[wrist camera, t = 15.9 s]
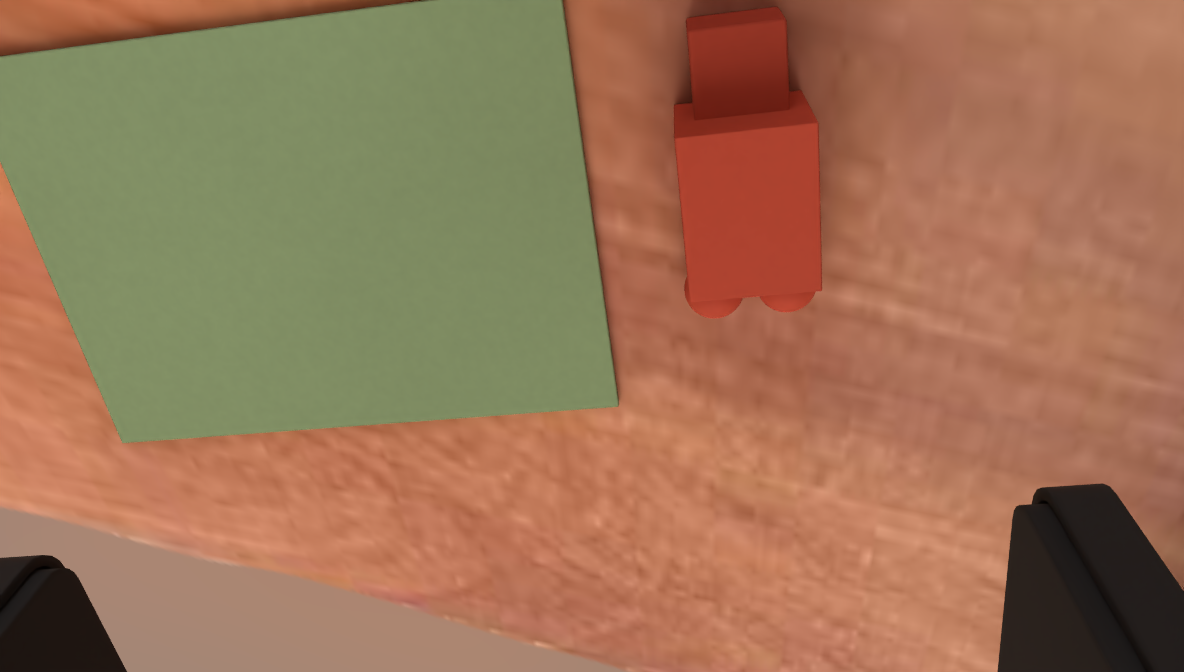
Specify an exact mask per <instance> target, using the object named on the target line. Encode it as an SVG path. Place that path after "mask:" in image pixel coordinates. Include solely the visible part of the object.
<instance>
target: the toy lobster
mask: <svg viewBox="0 0 1184 672" xmlns="http://www.w3.org/2000/svg"><path fill="white" fill-rule="evenodd" d="M686 28H687V40H688V52H689V64H690V76H691V88H692V100H693V103H686V104H677V105H674V140H675V150H676V161H677V171H678V182H679V193H680V203H681V214H682V225H683V235H684V246H685V257H686V267H687V278H686V281H685V296H686V300H687V302H688V304H689V305H690V307H691V308H692V309H693V310H694V311H695V312H696V313H698V314H700V315H702V316H704V317H708V318H721V317H724V316H727V315H729V314H731V313H732V312H733V311H734V310H736V308H737V307H738V306H739V304H740V303H741V301H742V298H745V297H756V296H760V298H761V300H762V301H763V302H764V303H765V304H766V305H767V306H769V307H770V308H772V309H774V310H776V311H780V312H793V311H796V310H799V309H801V308H803V307H804V306H806V305H807V304H808V303H809V302H810V301H811V299H812V298H813V296H814V294H815V292H816V291H822V262H821V216H820V171H819V126H818V121H817V119H816V118H815V116H814V114H813V112H812V110H811V108H810V106H809V104H808V102H807V101H806V99H805V97H804V95H803V93H802V91H791V92H789V75H788V47H787V21H786V19H785V17H784V16H783V14H782V13H781V11H780V9H779V8H778V7H769V8H761V9H753V10H745V11H737V12H729V13H721V14H714V15H706V16H698V17H690V18H687V20H686Z"/></svg>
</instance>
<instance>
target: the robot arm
mask: <svg viewBox="0 0 1184 672" xmlns="http://www.w3.org/2000/svg"><path fill="white" fill-rule="evenodd" d="M0 672H127V671H126V669H125V667H124V665H123V663H122V661H121V659H120V658H119V656H118V654H117V652H116V650H115V648H114V646H113V644H112V642H111V640H110V638H109V636H108V634H107V632H106V630H105V629H104V627H103V625H102V623H101V621H100V619H99V617H98V615H97V613H96V611H95V609H94V607H93V606H92V603H91V602H90V600H89V598H88V596H87V594H86V592H85V590H84V588H83V586H82V584H81V582H80V580H79V578H78V577H77V576H76V574H75V573H74V572H73V571H71V570H70V569H67V568H65V567H64V566H63V564H62V563H61V562H60V561H59V560H58V559H56V558H55V557H53V556H47V555H39V556H24V557H9V558H0ZM998 672H1184V591H1183V590H1182V588H1181V587H1180V585H1179V584H1178V582H1177V581H1176V580H1175V578H1174V577H1173V575H1172V574H1171V572H1170V571H1169V569H1168V568H1167V567H1166V565H1165V564H1164V562H1163V561H1162V559H1161V558H1160V556H1159V555H1158V554H1157V552H1156V551H1155V549H1154V548H1153V546H1152V545H1151V543H1150V542H1149V541H1148V539H1147V538H1146V536H1145V535H1144V533H1143V532H1142V530H1141V529H1140V528H1139V526H1138V525H1137V523H1136V522H1135V520H1134V519H1133V517H1132V516H1131V515H1130V513H1129V512H1128V510H1127V509H1126V507H1125V506H1124V504H1123V503H1122V501H1121V500H1120V499H1119V497H1118V496H1117V494H1116V493H1115V492H1114V491H1113V490H1112V489H1111V488H1110V486H1107V485H1105V484H1090V485H1075V486H1060V487H1045V488H1040V489H1037V490H1036V492H1035V494H1034V496H1033V501H1032V505H1019V506H1016V508H1015V510H1014V514H1013V520H1012V530H1011V540H1010V550H1009V561H1008V571H1007V581H1006V591H1005V602H1004V612H1003V622H1002V633H1001V643H1000V653H999V663H998Z"/></svg>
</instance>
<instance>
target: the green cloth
mask: <svg viewBox="0 0 1184 672" xmlns="http://www.w3.org/2000/svg"><path fill="white" fill-rule="evenodd" d="M0 162H1V164H2V167H3V169H4V171H5V174H6V176H7V178H8V180H9V183H10V185H11V187H12V190H13V192H14V194H15V197H16V199H17V201H18V203H19V206H20V208H21V210H22V213H23V215H24V217H25V220H26V222H27V224H28V227H29V229H30V231H31V233H32V236H33V238H34V240H35V243H36V245H37V247H38V250H39V252H40V254H41V256H42V259H43V261H44V263H45V266H46V268H47V270H48V273H49V275H50V277H51V279H52V282H53V284H54V286H55V289H56V291H57V293H58V296H59V298H60V300H61V302H62V305H63V307H64V309H65V312H66V314H67V316H68V319H69V321H70V323H71V326H72V328H73V330H74V332H75V335H76V337H77V339H78V342H79V344H80V346H81V349H82V351H83V353H84V355H85V358H86V360H87V362H88V365H89V367H90V369H91V372H92V374H93V376H94V378H95V381H96V383H97V385H98V388H99V390H100V392H101V395H102V397H103V399H104V401H105V404H106V406H107V408H108V411H109V413H110V415H111V418H112V420H113V422H114V424H115V427H116V429H117V431H118V434H119V436H120V438H121V441H122V443H130V442H143V441H157V440H171V439H184V438H198V437H211V436H225V435H239V434H252V433H266V432H279V431H293V430H307V429H320V428H334V427H348V426H361V425H375V424H388V423H402V422H416V421H429V420H443V419H457V418H470V417H484V416H497V415H511V414H525V413H538V412H552V411H565V410H579V409H593V408H606V407H618V406H619V399H618V392H617V385H616V378H615V371H614V363H613V356H612V349H611V342H610V335H609V328H608V320H607V313H606V306H605V299H604V292H603V284H602V277H601V270H600V263H599V256H598V249H597V241H596V234H595V227H594V220H593V213H592V205H591V198H590V191H589V184H588V177H587V170H586V162H585V155H584V148H583V141H582V134H581V127H580V119H579V112H578V105H577V98H576V91H575V83H574V76H573V69H572V62H571V55H570V48H569V40H568V33H567V26H566V19H565V12H564V5H563V0H422V1H415V2H407V3H400V4H392V5H385V6H377V7H369V8H362V9H354V10H347V11H339V12H332V13H324V14H316V15H309V16H301V17H294V18H286V19H279V20H271V21H263V22H256V23H248V24H241V25H233V26H226V27H218V28H210V29H203V30H195V31H188V32H180V33H173V34H165V35H158V36H150V37H142V38H135V39H127V40H120V41H112V42H105V43H97V44H89V45H82V46H74V47H67V48H59V49H52V50H44V51H36V52H29V53H21V54H14V55H6V56H0Z"/></svg>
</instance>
